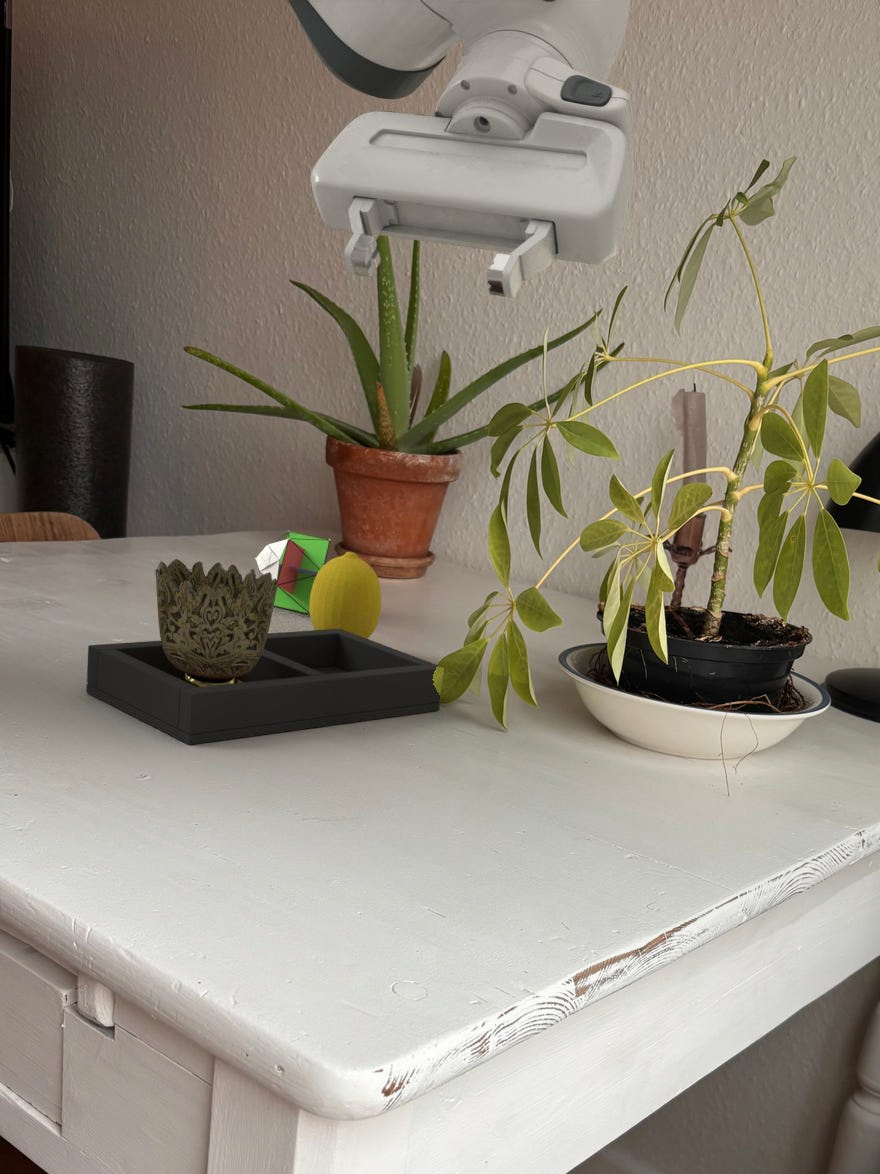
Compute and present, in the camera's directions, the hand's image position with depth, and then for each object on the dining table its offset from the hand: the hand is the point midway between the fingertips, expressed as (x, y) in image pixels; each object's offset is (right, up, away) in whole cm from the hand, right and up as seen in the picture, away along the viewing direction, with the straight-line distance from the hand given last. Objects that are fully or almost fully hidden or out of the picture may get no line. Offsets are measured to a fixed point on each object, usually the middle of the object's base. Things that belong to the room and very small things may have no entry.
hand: (426, 277), depth 77 cm
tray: (-11, -25, +9) cm, 28 cm away
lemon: (-8, -19, +24) cm, 32 cm away
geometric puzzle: (-13, -13, +37) cm, 42 cm away
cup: (-14, -25, +5) cm, 29 cm away
